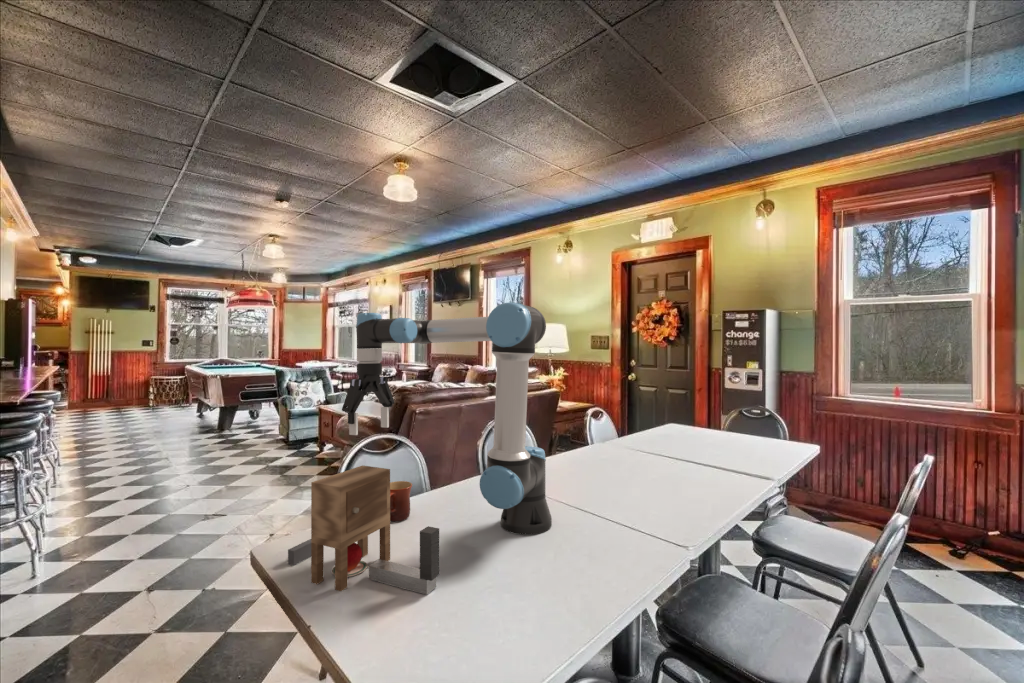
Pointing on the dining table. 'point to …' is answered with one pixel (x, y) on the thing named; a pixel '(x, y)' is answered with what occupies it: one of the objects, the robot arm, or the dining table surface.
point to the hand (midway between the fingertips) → (369, 431)
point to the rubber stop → (299, 553)
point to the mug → (400, 500)
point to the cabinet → (348, 517)
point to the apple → (354, 561)
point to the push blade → (411, 576)
